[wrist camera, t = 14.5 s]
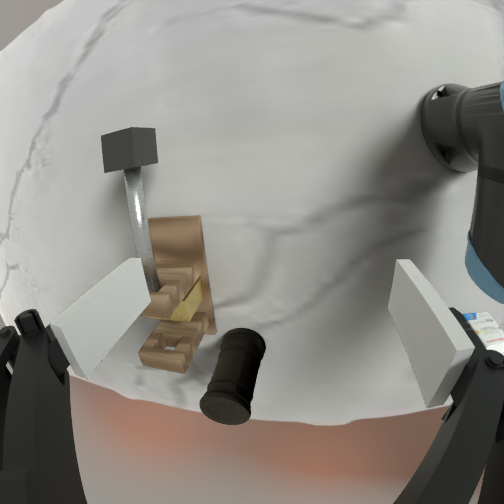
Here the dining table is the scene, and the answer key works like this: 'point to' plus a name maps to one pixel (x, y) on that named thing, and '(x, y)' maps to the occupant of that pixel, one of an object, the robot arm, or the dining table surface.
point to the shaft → (135, 187)
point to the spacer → (188, 303)
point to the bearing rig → (177, 293)
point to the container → (234, 378)
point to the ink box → (487, 330)
